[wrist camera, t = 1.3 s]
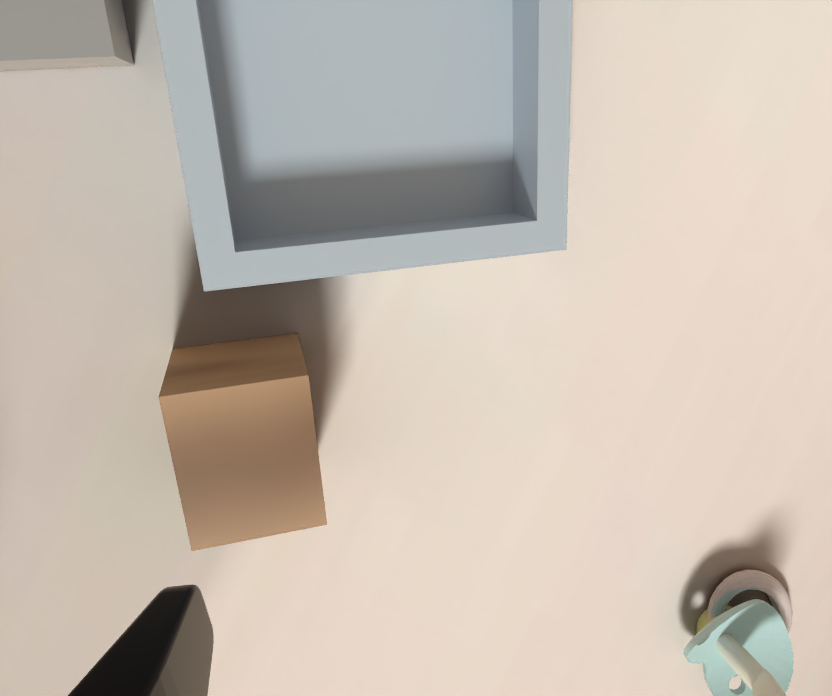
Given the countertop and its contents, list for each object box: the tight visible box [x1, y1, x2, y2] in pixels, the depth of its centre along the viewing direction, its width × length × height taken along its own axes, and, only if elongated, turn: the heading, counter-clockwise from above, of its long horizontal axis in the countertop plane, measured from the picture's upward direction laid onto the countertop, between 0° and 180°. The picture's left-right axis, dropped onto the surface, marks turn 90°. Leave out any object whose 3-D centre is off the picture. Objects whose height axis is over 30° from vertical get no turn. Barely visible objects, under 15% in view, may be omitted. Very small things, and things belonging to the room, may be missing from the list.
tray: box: [152, 0, 573, 292], centre depth 18 cm, size 11×11×2 cm
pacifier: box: [684, 570, 794, 696], centre depth 29 cm, size 7×6×6 cm
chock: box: [159, 333, 327, 551], centre depth 20 cm, size 5×4×4 cm
